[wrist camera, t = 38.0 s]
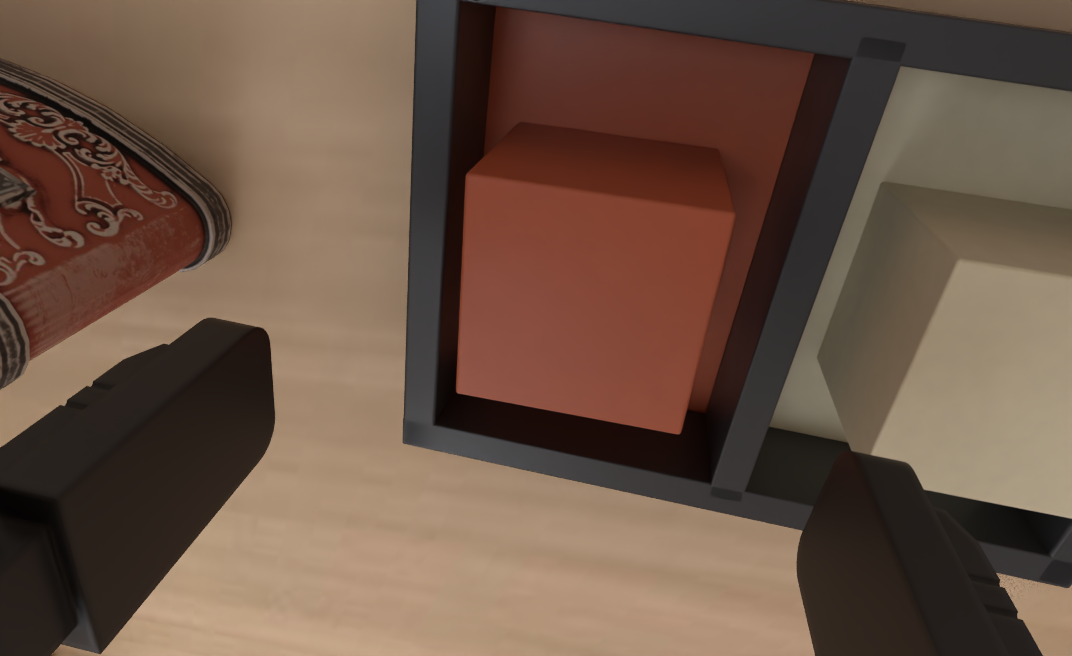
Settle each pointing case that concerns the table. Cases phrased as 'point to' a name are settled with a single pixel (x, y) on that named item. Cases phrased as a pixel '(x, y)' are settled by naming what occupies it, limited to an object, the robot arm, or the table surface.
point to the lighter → (86, 215)
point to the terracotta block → (591, 273)
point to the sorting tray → (760, 205)
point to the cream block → (960, 345)
